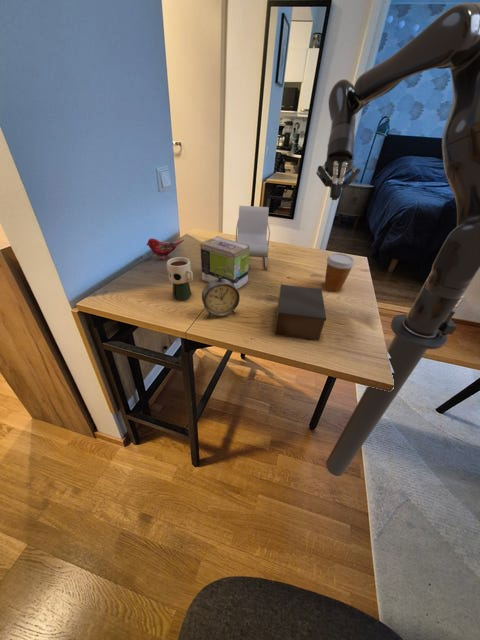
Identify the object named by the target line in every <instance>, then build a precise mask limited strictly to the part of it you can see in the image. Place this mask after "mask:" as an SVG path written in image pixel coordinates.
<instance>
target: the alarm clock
mask: <svg viewBox="0 0 480 640" xmlns="http://www.w3.org/2000/svg"><path fill="white" fill-rule="evenodd" d="M220 268H221V269H223V270H224V271H225V269H224V268H222V267H219V268H217V269H220ZM217 269H216V270H217ZM216 270H215V271H214V275H215V272H216ZM225 273H226V271H225ZM225 273H224V275H225ZM224 275H223V276H224ZM215 276H216V275H215ZM223 276H222V277H223ZM216 277H217V276H216ZM222 277H221V276H218V277H217V278H219V279H215V280H213V281H211V282H207V284H205V286H204V288H203V289H202V293H201V301H202V304H203V307H204V309H205V311H207V313H208V314H207V316H206V318H208V319H209V318H210V316H216V317H223V316H227V315H229V314H231V313H232V314H234V315H235V314H236V312H235V310H236V309H237V307H238V306H239V303H240V298H241V297H240V296H241V295H240V292H239V289H236V287H235V286H234V284H233V283H232V282H230V281H229V280H226V279H221V278H222Z"/></svg>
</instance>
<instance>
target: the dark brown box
mask: <svg viewBox="0 0 480 640" xmlns="http://www.w3.org/2000/svg"><path fill="white" fill-rule="evenodd" d="M279 300H280V292H279V293H278V300H277V304H276V305H277V306H276V317H275V330H274V335H277V336H285V337H291V338H299V339H305V340H313V341H319V340H320V337H321V335H322V331H323V328H324V325H325V322H326V321H322V320H315V319H307V318H299V317H292V316H284V315H278V314H279Z"/></svg>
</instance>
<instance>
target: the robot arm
mask: <svg viewBox="0 0 480 640" xmlns="http://www.w3.org/2000/svg"><path fill="white" fill-rule="evenodd" d="M433 69H439V70H443V69H449V72H450V77H451V84H452V101H451V106H450V111H449V113H448V117H447V120H446V123H445V126H444V129H443V133H442V137H441V152H442V163H443V170H444V174H445V177H446V180H447V183H448V185H449V187H450V190H451V192H452V194H453V197H454V200H455V204H456V227H454V228H453V229H452V230H451V231H450V232H449V234H448V235H447V237H446V238H445V240H444V242H443V243H442V246H441V248H440V249H439V252H438V254H437V255H436V257H435V259H434V261H433V263H432V266H431V270H430V272H429V275H428V276H427V277H426V280H425V282H424V283H423V285H422V287H421V289H420V291H419V293H418V294H417V296H416V299H415V300H414V301H413V303H412V305H411V307H410V309H409V310H408V313H407V316H406V318H405V319H404V321H403V323H402V326H403V328H404V329H405V330H406V331H407V332H409V333H410V334H412V335H414V336H416V337H419V338H424V339H432V338H434V337H439V336H440V334H442V335H443V336H444V335H447V336H448V335H453V334H454V332H455V331H456V330H457V328H458V325H456V323H455V322H454V321H453V319H452V318H453V317H454V315H455V313H456V310H454V309H455V307H456V306H457V304H458V303H459V302H460V300H461V298H462V297H463V296H464V294H465V293H466V291H467V289H468V288H469V287H470V285H471V284H472V283H473V281H474V280H475V279H474V278H475V276H476V274H477V273H478V271H479V270H480V2H462V3H459V4H456V5H454V6H452V7H450V8H449V9H447V10H446V11H444V12H443V13H442V14H441V15H439V16H438V17H437V18H436V19H435V20H433V21H432V22H431V23H429V24H428V25H427V26H426V28H424V29H423V30H421V32H420V33H419V34H417V35H416V36H415V37H413V38H412V39H411V40H410V41H409V42H408V43H406V44H405V45H404V46H403V47H401V48H400V49H399V50H397V51H396V52H395V53H393V54H392V55H390V56H389V57H387V58H386V59H383V61H381V62H379V63H378V64H376V65H374V66H373V67H371V68H369V69H368V70H366V71H365V72H363V73H362V74H361V75H360V76H358V78H357V79H356V81H355V83H354V84H353V83H352V82H350V81H349V80H348V79H340V80H338V81H337V82H336V83H334V85H333V87H332V88H331V90H330V92H329V95H328V101H327V102H328V113H329V118H330V123H331V124H330V132H329V137H328V143H327V151H326V160H325V161H324V164H323V165H318V167H317V170H316V173H315V174H316V175H317V177H318V179H320V181H321V182H322V184H323V185H324V187H325V188H327V187H328V188H330V189H329V190H330V191H329V198H330V199H331V200H332V201H337V200H338V199H340V197H341V195H342V189H347V187H348V186H349V185H350V184H352V182H354V181H355V180H356V179H357V178H358V176H359V175H360V173H361V168H355V167H354V166H355V164H354V162H353V157H354V149H355V137H356V134H355V131H356V115H357V114H358V113H359V112H360V111H361V110H362V109H363V108H365V106H366V105H367V104H369V103H371V102H372V101H374V100H376V99H377V98H381V97H382V96H384V95H386V94H387V93H389V92H391V91H392V90H393V89H395V88H396V87H397V86H398V85H399V84H400V83H402V82H403V81H404V80H405V79H407V78H409V77H412V76H414V75H416V74H419V73H422V72H426V71H430V70H433ZM348 174H349V176H348V177H347V178H346V176H347V175H348ZM344 178H346V179H345V180H344Z"/></svg>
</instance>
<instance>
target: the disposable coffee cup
mask: <svg viewBox="0 0 480 640" xmlns="http://www.w3.org/2000/svg"><path fill="white" fill-rule="evenodd" d="M326 263H327V264H326V271H325V279H324V284H323V287H324V288H325V290H327V291H329V292H334V293H338V292H340V291H342V289H343V287H344V284H345V283H346V280H347V279H348V276H349V275H350V272H351V270H352V268H354V266H355V259H354V257H352V256H351V255H348V254H345V253H339V252H335V253H334V252H333V253H330V254H329V256H328V257H327V258H326Z"/></svg>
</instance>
